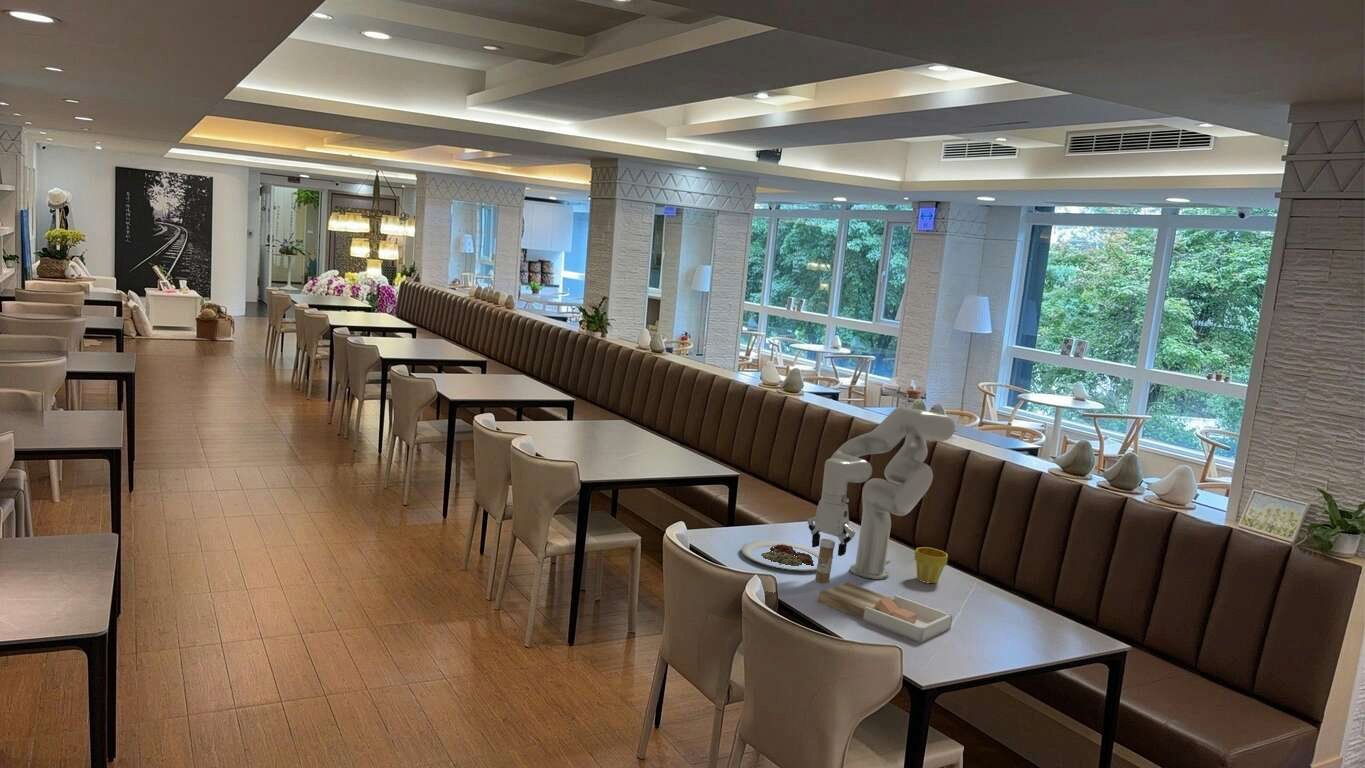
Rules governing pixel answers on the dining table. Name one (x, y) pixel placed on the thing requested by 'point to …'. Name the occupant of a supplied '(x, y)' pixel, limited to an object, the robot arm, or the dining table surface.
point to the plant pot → (930, 563)
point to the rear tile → (886, 605)
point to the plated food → (782, 553)
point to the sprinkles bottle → (825, 560)
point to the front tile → (905, 615)
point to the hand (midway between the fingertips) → (828, 550)
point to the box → (923, 629)
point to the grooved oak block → (850, 599)
